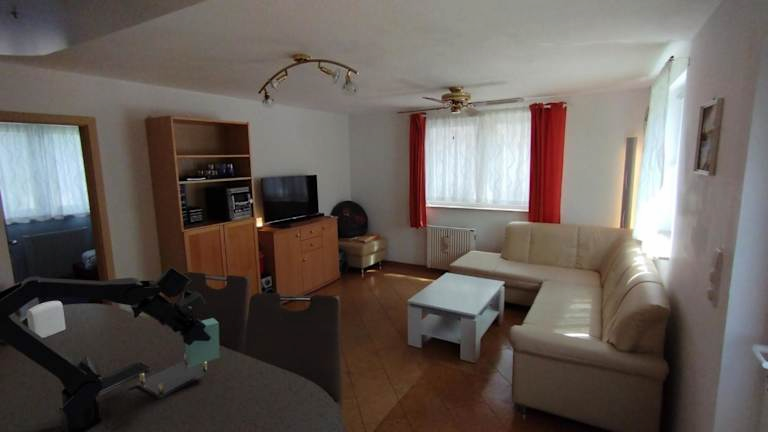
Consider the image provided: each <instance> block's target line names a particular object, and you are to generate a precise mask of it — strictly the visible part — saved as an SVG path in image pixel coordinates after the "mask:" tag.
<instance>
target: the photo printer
mask: <svg viewBox="0 0 768 432" xmlns="http://www.w3.org/2000/svg"><path fill="white" fill-rule="evenodd" d="M26 319H27V325H28V326H27V327H28V328H29V329H31V330H32V331H34V332H35V333H36V334H38V335H39V336H41V337H42V338H43V339H45V338H47V337H50V336H52V335H55V334H58V333H60V332H62V331H64V330H66V319H65V314H64V307H63V303H62V302H61V301H59V300H51V301H45V302H43V303H39V304H37V305H35V306H32V307H31V308H28V309H27V310H26Z"/></svg>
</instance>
